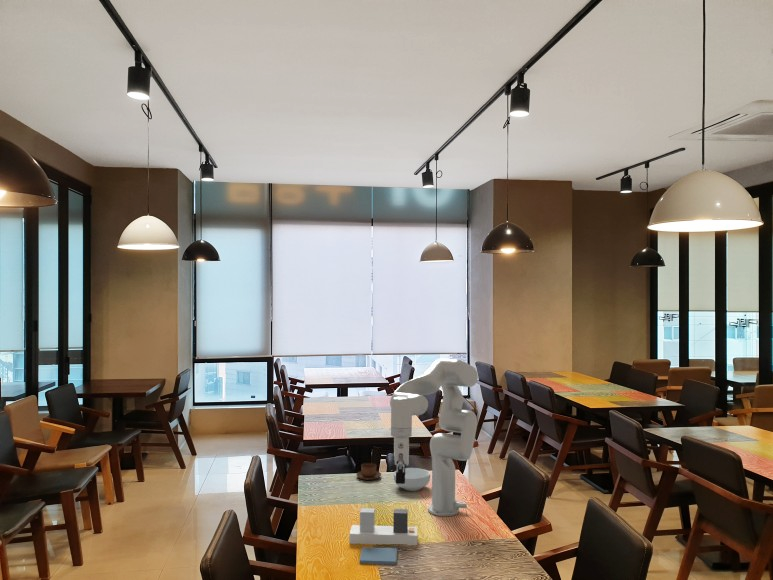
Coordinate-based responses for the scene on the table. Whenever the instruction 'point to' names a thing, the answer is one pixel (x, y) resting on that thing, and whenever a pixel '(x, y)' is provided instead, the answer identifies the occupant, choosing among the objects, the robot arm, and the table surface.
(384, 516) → the table surface
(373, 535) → the power strip
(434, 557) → the table surface
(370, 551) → the mat
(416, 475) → the cereal bowl
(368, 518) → the block
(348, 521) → the table surface
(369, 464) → the cup and saucer
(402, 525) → the block
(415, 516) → the table surface
